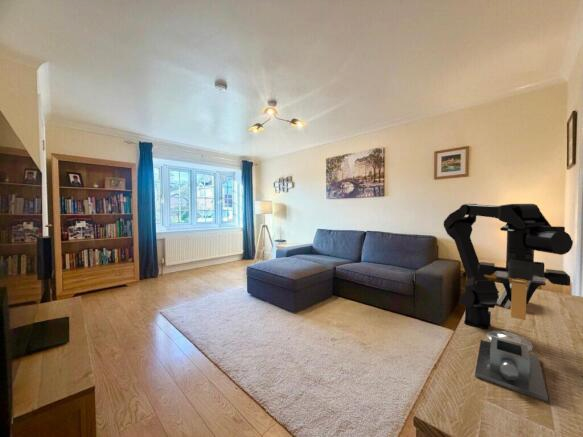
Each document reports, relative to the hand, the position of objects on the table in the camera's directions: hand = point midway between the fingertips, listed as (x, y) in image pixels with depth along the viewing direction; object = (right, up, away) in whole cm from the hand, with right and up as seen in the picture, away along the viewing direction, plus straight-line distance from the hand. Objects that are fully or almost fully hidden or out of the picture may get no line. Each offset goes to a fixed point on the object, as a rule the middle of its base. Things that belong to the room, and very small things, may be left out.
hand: (518, 302), depth 70 cm
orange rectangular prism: (0, -4, 0) cm, 4 cm away
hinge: (+27, -12, +33) cm, 44 cm away
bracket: (-10, -13, -8) cm, 19 cm away
